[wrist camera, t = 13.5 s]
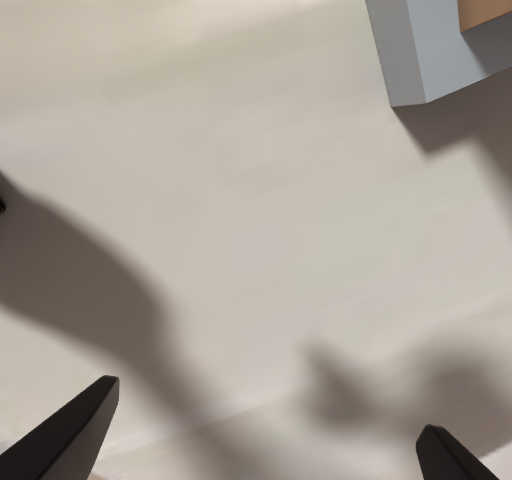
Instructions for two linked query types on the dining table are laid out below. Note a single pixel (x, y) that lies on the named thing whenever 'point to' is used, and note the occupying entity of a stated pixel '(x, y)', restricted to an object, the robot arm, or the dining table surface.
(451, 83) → the grey slab
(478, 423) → the dining table surface
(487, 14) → the walnut block
